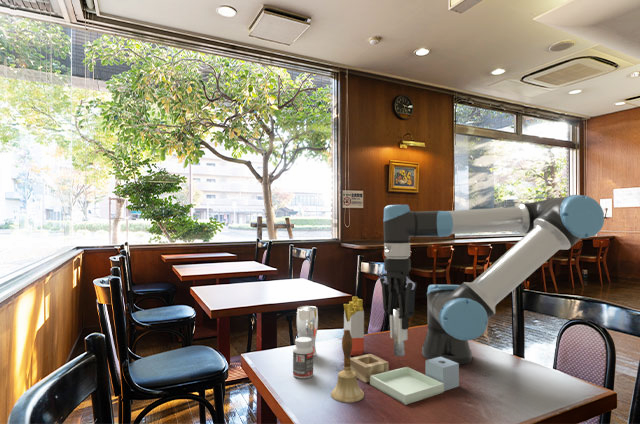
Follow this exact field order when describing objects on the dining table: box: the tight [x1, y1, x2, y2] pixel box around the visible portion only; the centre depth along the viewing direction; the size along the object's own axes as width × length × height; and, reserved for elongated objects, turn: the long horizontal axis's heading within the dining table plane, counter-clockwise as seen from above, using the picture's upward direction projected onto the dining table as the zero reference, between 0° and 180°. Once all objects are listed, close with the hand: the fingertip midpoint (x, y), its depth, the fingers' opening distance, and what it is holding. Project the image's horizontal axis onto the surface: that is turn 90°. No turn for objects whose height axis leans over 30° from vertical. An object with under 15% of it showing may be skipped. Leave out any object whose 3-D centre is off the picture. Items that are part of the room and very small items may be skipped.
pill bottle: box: [292, 337, 314, 379], centre depth 106 cm, size 6×6×10 cm
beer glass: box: [296, 305, 319, 358], centre depth 123 cm, size 7×7×15 cm
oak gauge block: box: [350, 353, 390, 384], centre depth 107 cm, size 8×8×4 cm
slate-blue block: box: [424, 357, 460, 392], centre depth 101 cm, size 6×6×6 cm
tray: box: [369, 366, 445, 406], centre depth 98 cm, size 13×13×2 cm
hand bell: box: [330, 330, 365, 404], centre depth 94 cm, size 8×8×16 cm
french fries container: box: [343, 296, 365, 357], centre depth 125 cm, size 5×11×18 cm, turn 9°
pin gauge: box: [393, 307, 405, 357], centre depth 110 cm, size 3×3×13 cm
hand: (398, 338), depth 110 cm, fingers closed on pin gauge, 3 cm apart
